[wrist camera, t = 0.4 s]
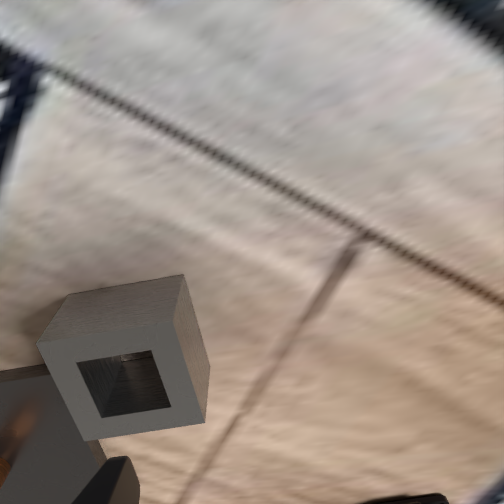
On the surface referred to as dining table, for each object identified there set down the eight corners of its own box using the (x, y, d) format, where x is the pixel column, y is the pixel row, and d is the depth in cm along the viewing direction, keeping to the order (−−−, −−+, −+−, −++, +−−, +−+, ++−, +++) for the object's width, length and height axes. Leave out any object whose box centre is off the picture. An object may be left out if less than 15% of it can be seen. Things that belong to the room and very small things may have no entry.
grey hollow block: (210, 366, 24) (205, 422, 21) (106, 383, 25) (84, 441, 21) (183, 274, 22) (172, 320, 18) (68, 294, 22) (35, 343, 19)
